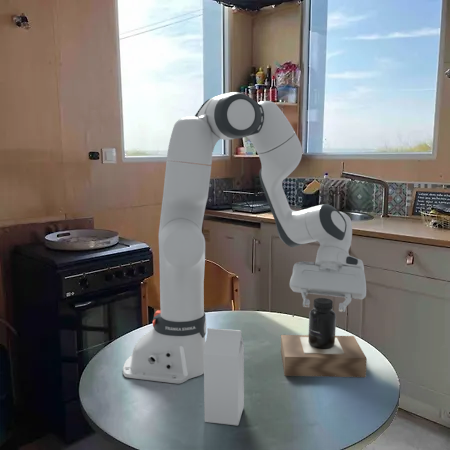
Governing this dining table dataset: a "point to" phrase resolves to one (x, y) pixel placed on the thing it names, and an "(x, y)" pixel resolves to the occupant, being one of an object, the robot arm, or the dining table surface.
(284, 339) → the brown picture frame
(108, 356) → the dining table surface
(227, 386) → the milk carton
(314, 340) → the supplement bottle
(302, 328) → the dining table surface
